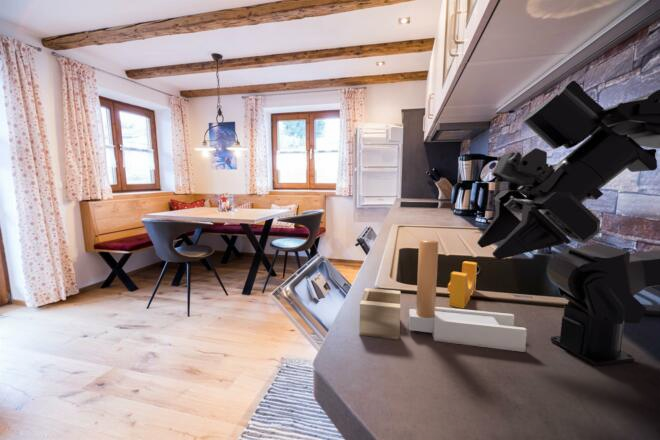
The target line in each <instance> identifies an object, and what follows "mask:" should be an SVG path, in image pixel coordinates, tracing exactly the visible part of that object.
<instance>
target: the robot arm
mask: <svg viewBox="0 0 660 440" xmlns="http://www.w3.org/2000/svg"><path fill="white" fill-rule="evenodd" d="M522 122H523V123H524V124H525V125H526V126H527V127H528V128H529V129H531V130H532V131H533V132H534V133H535V134H536V135H537V136H538V137H540V139H542V140H543V141H544V142H545V143H546V144H547V145H548V146H549V147H550V148H552V149H553V150H556V149H558V148H562V146H563V147H564V148H565V149H566V150H570V149H572V148H574V147H575V146H577V147H576V148H575V149H574V150H572V151H571V152H569V154H568V155H566V156H565V157H563V159H561V160H560V161H559V162H558V163H556V164H549V163H548V162H547V161H548V152H547V151H545V150H543V149H541V148H537V147H535V148H531V149H529V150H527V151H526V152H524V153H523V154H521V152H520V151H517V152H514V151H511V152H507V153H504V154H502V156H501V158H500V159H499V160H498V162H497V164H496V166H495V168H494V170H493V171H492V173H491V176H493V177H495V178H497V179H503V180H506V181H508V182H510V183H513V184H515V185H518V186H519V187H518V188H517V190H501V191H500V192H499V193H498V194H496V195H495V196H494V197H493V200H494V206H495V216H494V217H493V218H492V220H491V221H490V223H489V224H488V226H487V228H486V229H485V230H484V231H483V233H482V235H481V236H480V238H479V239H478V241H477V245H478V246H479V247H481V248H486V247H488V246H491V245H493V244H496V243H499V242H500V244H499V245H498V246H497V247H496V248H494V251H492V256H493V257H494V258H495V259H496V260H497V261H498V260H499V261H500V260H503V259H507V258H510V257H514V256H519V255H522V254H527V253H531V252H533V251H537V250H541V249H546V248H550V247H555V246H559V245H564V244H565V245H568V244H571V242H572V241H574V242H578V243H581V244H586V243H587V242H588V241H590V240H591V239H592V238H593V237H595V236H597V235H598V234H599V233H600V228H601V219H600V218H598V217H597V216H596V215H595V214H594V213H593V212H592V211H591V210H590V209H589V208H587V207H586V206H585V204H583V203H585V202H586V201H587V200H593V201H594V200H596V201H597V200H598V199H599V198H601V197H602V196H603V195H604V193H603V192H602V191H601V189H602V188H603V187H605V186H606V185H607V184H609V183H610V182H611V181H612V180H614V179H615V178H616V177H617V176H619V175H620V174H621V173H622V172H624V171H625V170H626V169H627V170H628V171H629V172H631V173H635V172H651V171H656V170H657V168H658V160H657V158H656V154H657V149H660V89H657V90H655V91H652V92H650V93H646V94H644V95H641V96H639V97H637V98H635V99H634V98H633V99H631V100H629V101H626V102H620V103H619V102H618V103H617V104H614V105H612V106H611V105H610V106H609V107H606V108H604V107H603V106H602V105H600V104H599V103H598V102H597V101H596V100H595V99H594V98H592V96H590V95H589V94H588V93H586V91H585V90H584V88H583V87H582V86H581V85H580V84H579V83H578V82H577V81H576V80H571V81H570V82H568V83H566V84H565V85H563V86H562V87H561V88H560V89H559V90H557V92H555V93H554V94H553V95H551V96H550V97H549V98H548V99H547V100H545V101H544V102H541V103H540V104H539V105H537V106H536V107H535V108H534V109H532V110H531V112H529V113H528V115H527V116H526V117H525V118H524V119H523V120H522ZM580 143H581V144H580ZM578 145H579V146H578ZM644 147H646V148H644ZM649 148H650V149H649ZM565 248H566V250H567V251H562V252H559V253H556V254H554V255H552V258H551V259H550V260H549V261H548V264H547V266H546V275H547V277H548V280H549V281H550V282H551V283H552V284H553V285H554V286H556V289H557V291H558V292H557V293H558V295H559V296H560V297H562V298H564V299H566V300H567V303H566V304H564V305H563V306H564V307H563V316H561V325H560V335H554V336H550V341H552V343H555V344H557V345H558V346H560V347H562V348H563V349H566V350H567V351H569V352H571V353H572V354H574V355H576V356H578V357H579V358H581V359H583V360H585V361H586V362H588V363H590V364H592V365H595V366H605V365H612V364H619V363H620V364H621V363H626V362H627V363H629V362H634V361H635V356H634V355H633V354H630V353H628V352H626V351H624V350H622V344H623V337H624V329H625V324H627V323H628V324H639V323H640V321H641V320H642V318H643V316H644V315H645V313H646V312H647V307H646V306H644V305H643V303H641V301H639V300H638V299H637V298H636V297H635V296H636V295H637V294H639V293H641V292H642V291H643V290H645V289H648V288H652V287H653V288H654V287H660V249H656V250H648V251H641V252H632V253H631V251H628V250H626V249H621V248H618V247H615V246H612V245H607V244H604V243H600V242H598V243H591V244H588V245H584V246H579V247H572V246H566V247H565Z"/></svg>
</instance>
